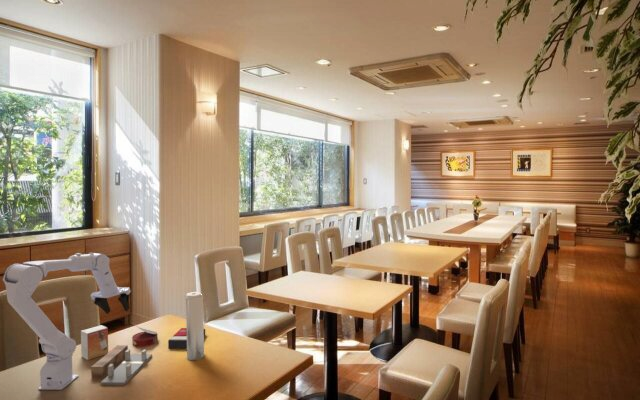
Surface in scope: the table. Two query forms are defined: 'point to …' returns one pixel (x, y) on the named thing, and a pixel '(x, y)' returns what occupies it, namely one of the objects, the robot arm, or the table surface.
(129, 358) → the base plate
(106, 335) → the small box
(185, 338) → the black and red box
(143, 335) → the canned food
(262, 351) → the table surface
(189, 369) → the table surface
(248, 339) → the table surface
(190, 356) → the paper towel roll
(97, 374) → the banded tan post
